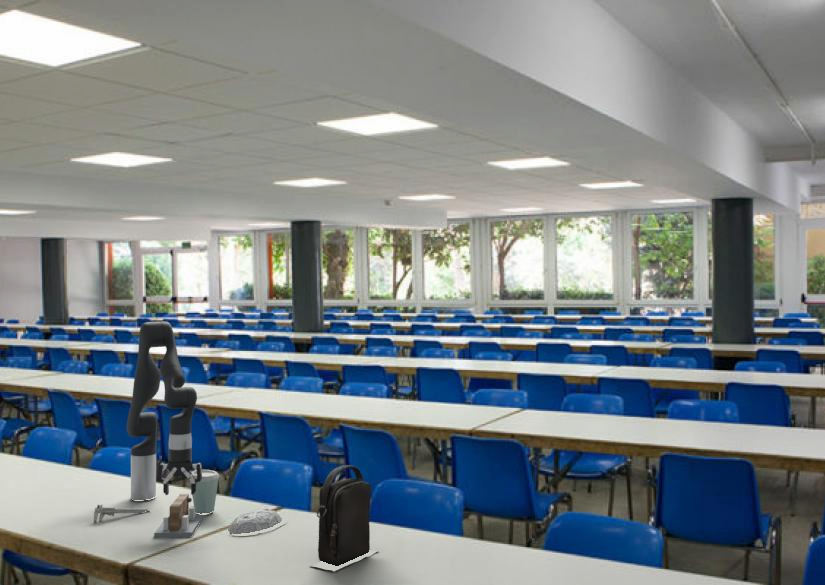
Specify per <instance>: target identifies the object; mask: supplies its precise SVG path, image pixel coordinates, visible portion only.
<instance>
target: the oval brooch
mask: <svg viewBox="0 0 825 585" xmlns="http://www.w3.org/2000/svg"><path fill="white" fill-rule="evenodd" d="M282 519H283V518H282V517H281V515H280V514H279V513H278V512H277V511H275V510H270V509H269V508H267V507H265V508H264V509H261V508H259V509H254V510H252V511H247V512H246V513H243V514H240V515H239V516H237V517H236V518H235V519H234V520H233V521H232V522H231V523H230V525H229V528H228V527H227V528H228V531H229V532H230V533H233V534H241V533H250V532H255V531H260V530H263V529H267V528H270V527H273V526H274V525H276V524H278V523H280V522H281V521H282Z"/></svg>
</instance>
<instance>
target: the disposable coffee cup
mask: <svg viewBox="0 0 825 585" xmlns="http://www.w3.org/2000/svg"><path fill="white" fill-rule="evenodd" d="M191 472H192V474H193V476H194V477H195V478H197V470H195V469H194V470H191ZM219 478H220V474H219V473H218V471H215V470H210V469H202V480H201V481H200V482H197V483H196V492H195V493H194V494H193V495H192V502H193V506H195V514H196V513H200V514H202V513H210V512H212V511H213V512H214V511H215V506H216V500H217V499H216V498H217V494H218V493H217V492H218V484H219ZM189 483H190V485H191V484H192V482H191V481H190V480H189Z"/></svg>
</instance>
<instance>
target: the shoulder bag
mask: <svg viewBox="0 0 825 585" xmlns="http://www.w3.org/2000/svg"><path fill="white" fill-rule="evenodd" d="M346 469H350V470H352V471H353V473H354V474H355V478H350V477H349V478H346V479H342V480H338V481H335V482H333V481H334V480H335V478H336V477H337V475H339V473H340V472H342V471H343V470H346ZM322 485H323V486H321V487H320V489H319V494H318V496H319V498H318V500H319V505H318V506H319V508H318V509H317V511H316V517H317V518H318V545H317V546H318V547H317V556H318V560H319V562H320V561H323V562H326V563H328V564H332V565H335V566H339V565H341V564H344V563H346V562H348V561H350V560H353V559H355V558H357V557H359V556H362V555H364V554H366V553H368V552H369V550H371V546H370V544H371V543H370V542H371V541H370V540H371V539H370V537H371V536H370V533H371V531H370V511H371V508H370V507H371V490H372V486H371V484H370V483H369V482H366V481H364V479H363V474H362V473H361V470H360V469H359V468H358V467H357V466H353V465H351V464H349V465H348V464H342V465H340V466H337V467H336V468H334V469H332V470H331V471H330V472H329V473H328V475H327V476H326V477H325V480H324V483H323V484H322Z"/></svg>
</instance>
